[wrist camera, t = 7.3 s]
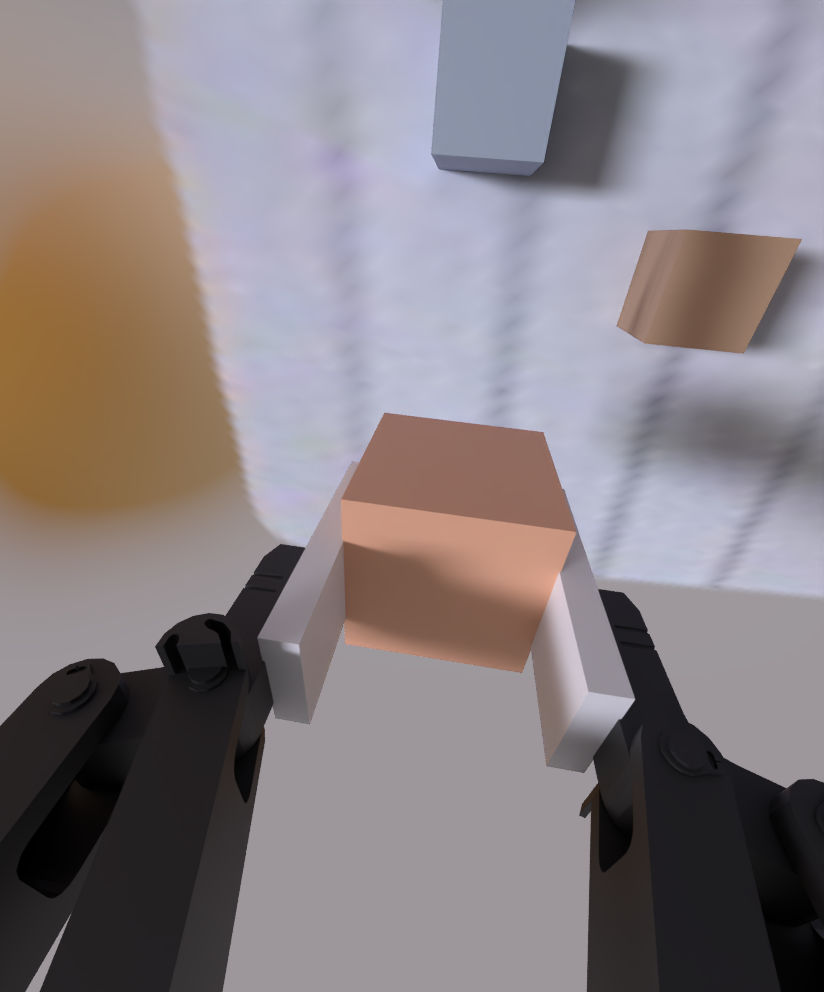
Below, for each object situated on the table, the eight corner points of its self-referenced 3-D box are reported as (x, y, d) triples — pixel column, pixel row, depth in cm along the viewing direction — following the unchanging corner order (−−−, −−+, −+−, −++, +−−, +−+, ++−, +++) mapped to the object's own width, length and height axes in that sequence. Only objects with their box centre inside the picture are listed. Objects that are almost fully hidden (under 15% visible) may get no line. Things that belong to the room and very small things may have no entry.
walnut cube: (740, 238, 22) (801, 239, 18) (698, 334, 25) (743, 353, 21) (647, 230, 23) (687, 229, 18) (616, 325, 25) (644, 343, 21)
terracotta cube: (543, 432, 12) (576, 531, 8) (509, 552, 15) (521, 672, 11) (384, 412, 13) (340, 499, 9) (379, 534, 16) (345, 643, 11)
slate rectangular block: (554, 42, 19) (577, -11, 15) (530, 176, 22) (543, 162, 18) (450, 37, 19) (444, -17, 15) (438, 169, 22) (431, 154, 18)
